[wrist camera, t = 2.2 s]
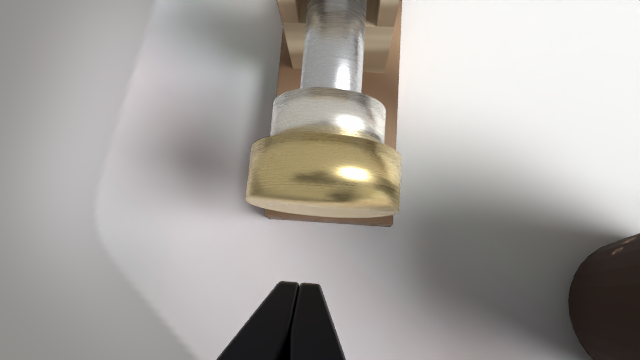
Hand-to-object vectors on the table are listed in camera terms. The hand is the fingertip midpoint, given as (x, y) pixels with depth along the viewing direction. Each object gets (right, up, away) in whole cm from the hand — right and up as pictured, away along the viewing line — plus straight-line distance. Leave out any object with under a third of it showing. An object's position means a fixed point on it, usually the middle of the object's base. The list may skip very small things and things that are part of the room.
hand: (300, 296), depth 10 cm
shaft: (+1, +5, +10) cm, 11 cm away
